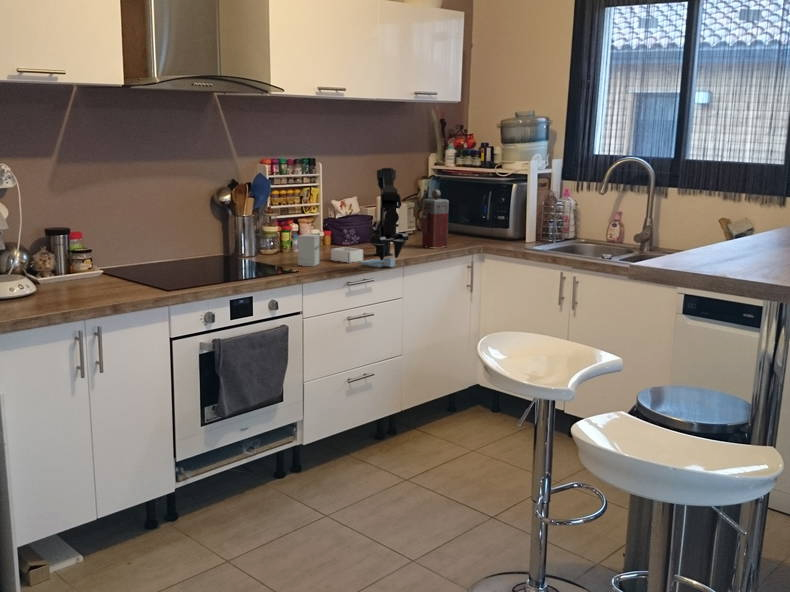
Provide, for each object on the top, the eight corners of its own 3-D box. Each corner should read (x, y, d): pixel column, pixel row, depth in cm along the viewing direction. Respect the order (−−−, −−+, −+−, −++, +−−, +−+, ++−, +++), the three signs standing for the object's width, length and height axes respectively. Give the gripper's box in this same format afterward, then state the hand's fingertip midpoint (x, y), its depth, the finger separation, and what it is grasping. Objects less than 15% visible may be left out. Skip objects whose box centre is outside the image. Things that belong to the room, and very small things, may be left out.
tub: (330, 260, 347) (330, 249, 346) (344, 258, 354) (344, 246, 353) (349, 263, 340) (349, 251, 339) (363, 260, 347) (363, 249, 346)
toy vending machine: (418, 247, 391) (419, 189, 385) (436, 245, 397) (437, 188, 391) (429, 249, 384) (431, 190, 378) (447, 247, 390) (449, 190, 384)
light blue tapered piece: (359, 265, 337) (359, 255, 336) (373, 263, 343) (373, 253, 343) (385, 269, 328) (385, 259, 327) (399, 267, 334) (399, 257, 334)
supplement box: (314, 266, 331) (314, 236, 329) (297, 265, 333) (297, 235, 330) (319, 263, 338) (319, 234, 336) (303, 263, 340) (302, 233, 337)
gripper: (389, 218, 340) (388, 254, 344) (359, 221, 326) (359, 259, 329) (409, 220, 333) (408, 257, 337) (380, 224, 319) (379, 262, 323)
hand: (389, 259), depth 331 cm, fingers open, 9 cm apart
